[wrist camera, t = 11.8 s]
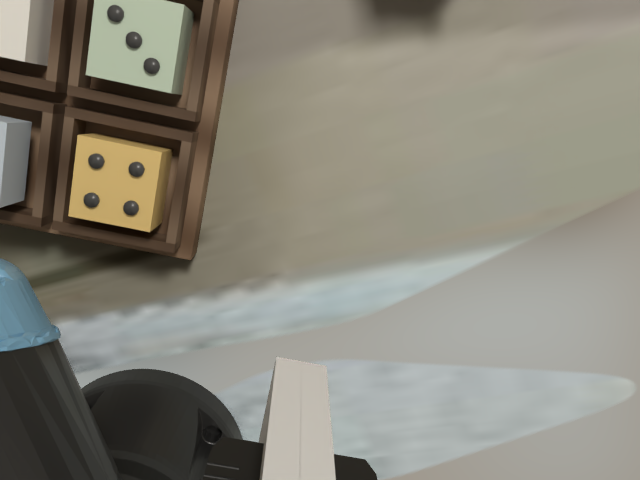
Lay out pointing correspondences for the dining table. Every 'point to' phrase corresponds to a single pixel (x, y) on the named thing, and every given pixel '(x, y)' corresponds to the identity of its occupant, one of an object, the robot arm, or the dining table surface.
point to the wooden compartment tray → (118, 126)
